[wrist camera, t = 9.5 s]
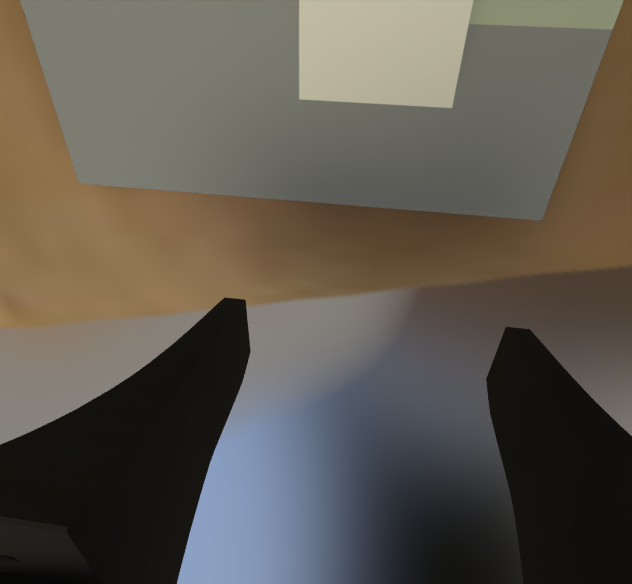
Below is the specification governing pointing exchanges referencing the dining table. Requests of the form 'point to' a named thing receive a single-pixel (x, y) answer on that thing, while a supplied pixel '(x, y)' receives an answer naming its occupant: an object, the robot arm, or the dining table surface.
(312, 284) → the dining table surface
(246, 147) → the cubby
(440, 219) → the dining table surface
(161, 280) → the dining table surface
